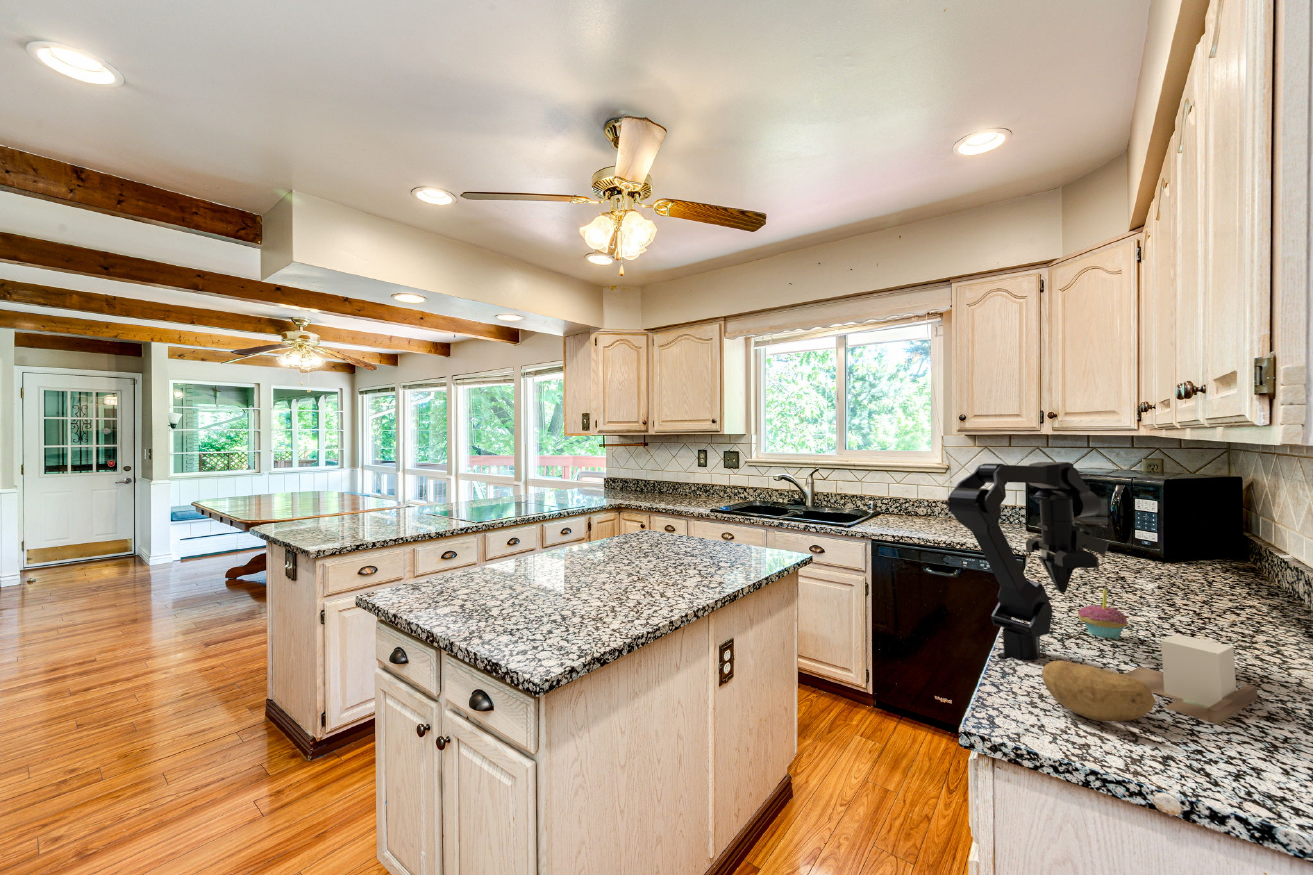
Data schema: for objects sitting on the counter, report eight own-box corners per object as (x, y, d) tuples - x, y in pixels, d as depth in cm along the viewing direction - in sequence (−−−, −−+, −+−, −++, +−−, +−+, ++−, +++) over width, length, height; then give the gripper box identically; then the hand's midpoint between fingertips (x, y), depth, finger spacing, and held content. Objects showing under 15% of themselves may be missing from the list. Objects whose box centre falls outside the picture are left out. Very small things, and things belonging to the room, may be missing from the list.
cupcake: (1138, 645, 112) (1134, 589, 113) (1093, 644, 114) (1089, 589, 114) (1112, 631, 121) (1109, 579, 121) (1070, 630, 122) (1067, 579, 123)
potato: (1158, 746, 76) (1154, 690, 76) (1039, 715, 86) (1036, 666, 86) (1157, 719, 83) (1154, 668, 83) (1048, 693, 93) (1045, 648, 93)
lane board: (1097, 691, 93) (1096, 674, 93) (1141, 671, 100) (1140, 655, 100) (1217, 731, 79) (1216, 711, 79) (1258, 704, 86) (1256, 686, 86)
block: (1164, 693, 89) (1161, 640, 89) (1179, 685, 92) (1176, 633, 92) (1222, 710, 83) (1218, 653, 83) (1237, 701, 86) (1233, 646, 86)
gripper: (1127, 525, 102) (1133, 606, 101) (1078, 513, 120) (1083, 582, 119) (1061, 526, 105) (1066, 604, 104) (1022, 514, 123) (1027, 581, 122)
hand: (1061, 592), depth 112 cm, fingers closed
